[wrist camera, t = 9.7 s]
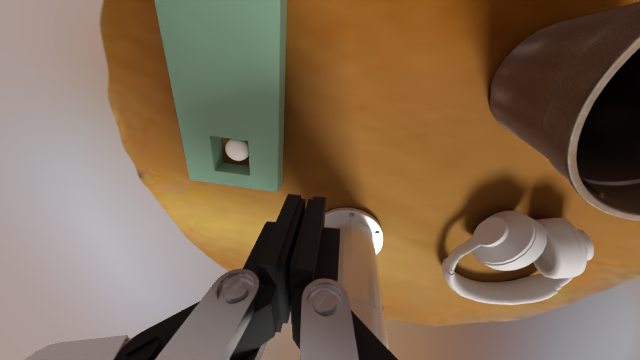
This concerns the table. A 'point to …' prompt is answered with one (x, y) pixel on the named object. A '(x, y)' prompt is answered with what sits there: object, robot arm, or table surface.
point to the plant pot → (580, 103)
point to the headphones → (521, 257)
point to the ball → (237, 149)
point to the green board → (228, 85)
